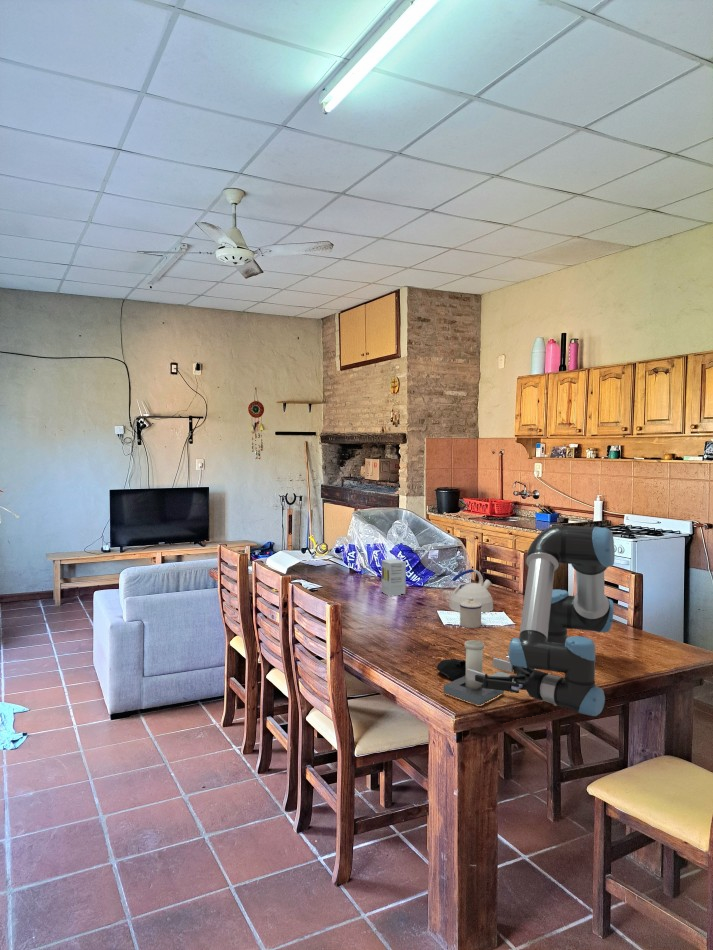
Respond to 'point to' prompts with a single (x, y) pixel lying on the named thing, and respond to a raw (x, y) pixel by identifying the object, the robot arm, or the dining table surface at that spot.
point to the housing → (470, 692)
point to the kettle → (472, 593)
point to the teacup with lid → (470, 613)
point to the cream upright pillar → (474, 661)
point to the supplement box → (393, 577)
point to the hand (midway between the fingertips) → (480, 667)
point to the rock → (452, 668)
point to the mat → (500, 674)
